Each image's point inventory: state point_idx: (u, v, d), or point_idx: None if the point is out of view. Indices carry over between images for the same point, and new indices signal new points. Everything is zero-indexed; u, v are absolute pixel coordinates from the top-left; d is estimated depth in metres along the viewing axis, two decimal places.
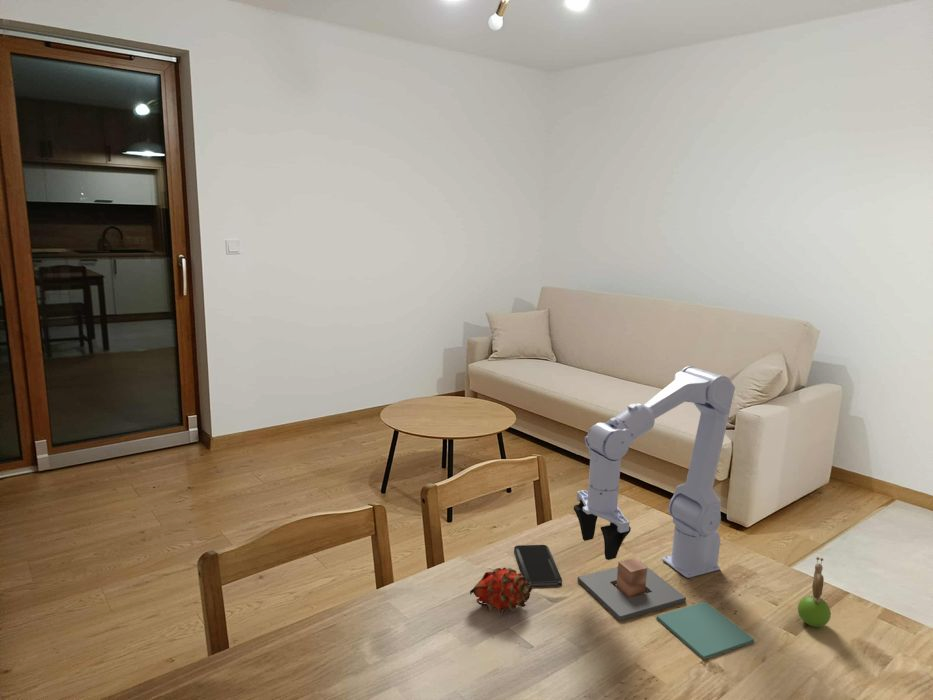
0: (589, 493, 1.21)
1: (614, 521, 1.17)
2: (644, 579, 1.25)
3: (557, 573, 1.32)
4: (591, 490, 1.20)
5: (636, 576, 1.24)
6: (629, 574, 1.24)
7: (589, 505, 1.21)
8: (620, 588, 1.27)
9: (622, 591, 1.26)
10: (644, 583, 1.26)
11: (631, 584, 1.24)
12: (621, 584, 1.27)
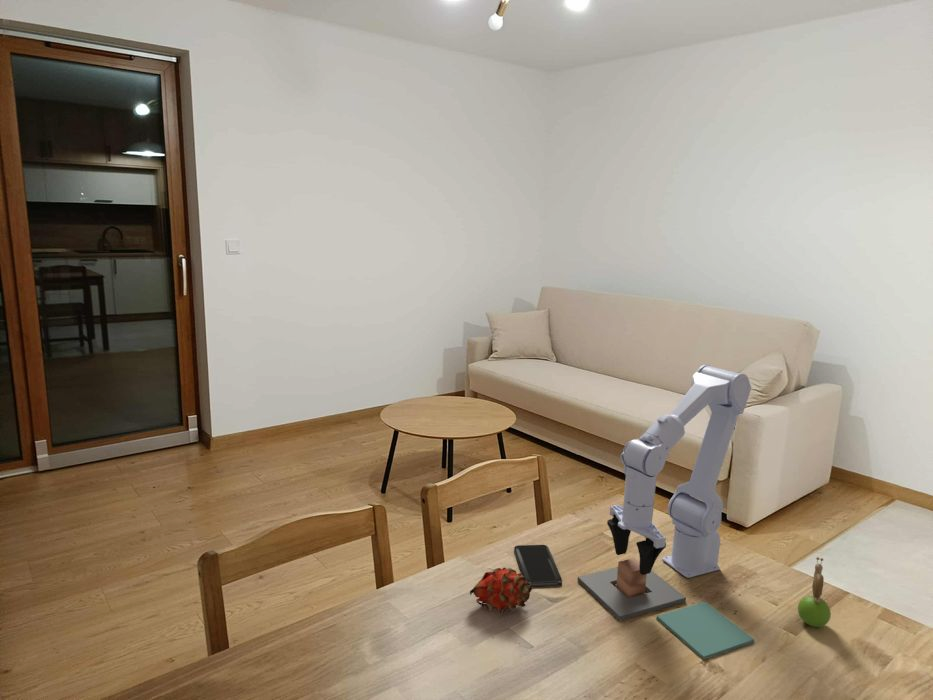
0: (624, 508, 1.23)
1: (650, 537, 1.18)
2: (644, 579, 1.25)
3: (557, 573, 1.32)
4: (627, 506, 1.22)
5: (636, 576, 1.24)
6: (629, 574, 1.24)
7: (624, 520, 1.23)
8: (620, 588, 1.27)
9: (622, 591, 1.26)
10: (644, 583, 1.26)
11: (631, 584, 1.24)
12: (621, 584, 1.27)
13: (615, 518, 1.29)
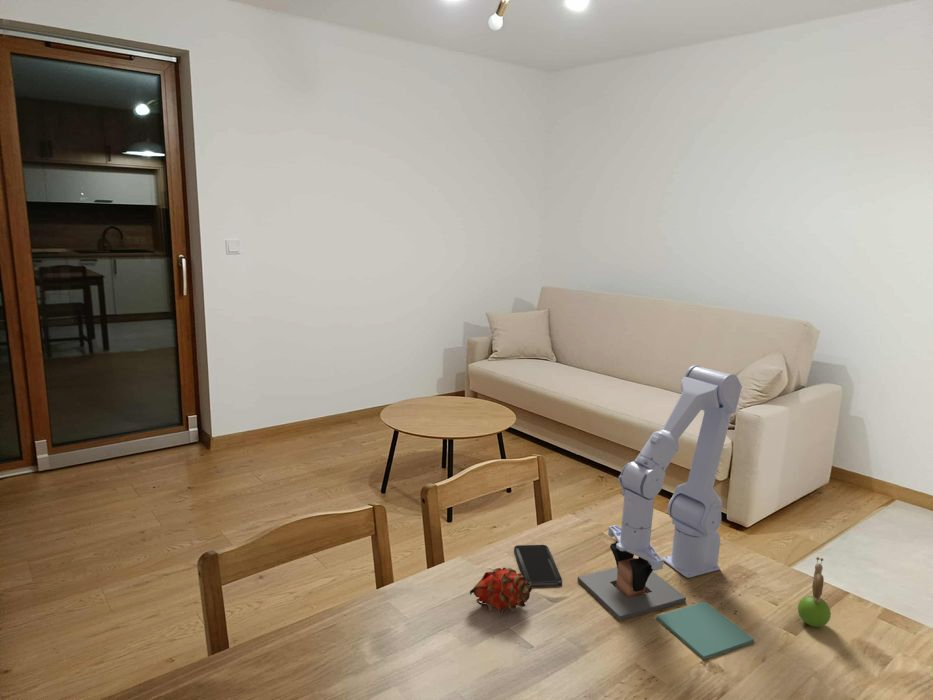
0: (623, 530, 1.24)
1: (648, 559, 1.19)
2: None
3: (557, 573, 1.32)
4: (625, 527, 1.23)
5: None
6: (629, 574, 1.24)
7: (622, 542, 1.24)
8: (620, 588, 1.27)
9: (622, 591, 1.26)
10: None
11: (631, 583, 1.24)
12: (621, 584, 1.26)
13: (618, 542, 1.28)
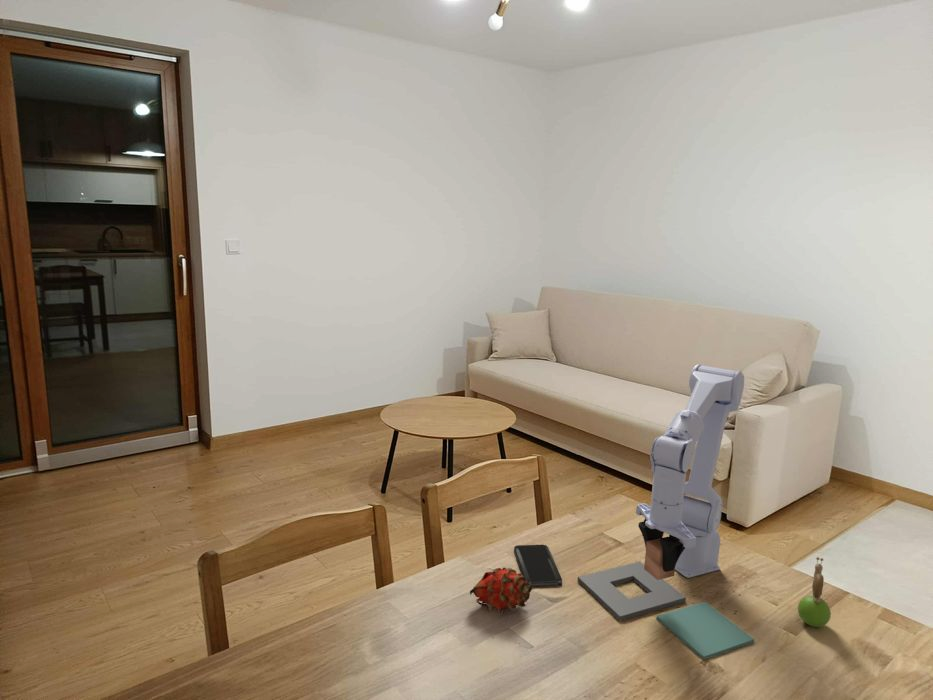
0: (652, 507, 1.18)
1: (680, 536, 1.14)
2: None
3: (557, 573, 1.32)
4: (655, 504, 1.17)
5: None
6: (659, 554, 1.18)
7: (652, 519, 1.18)
8: (648, 569, 1.21)
9: (650, 572, 1.21)
10: None
11: (660, 564, 1.18)
12: (649, 564, 1.21)
13: (647, 521, 1.23)
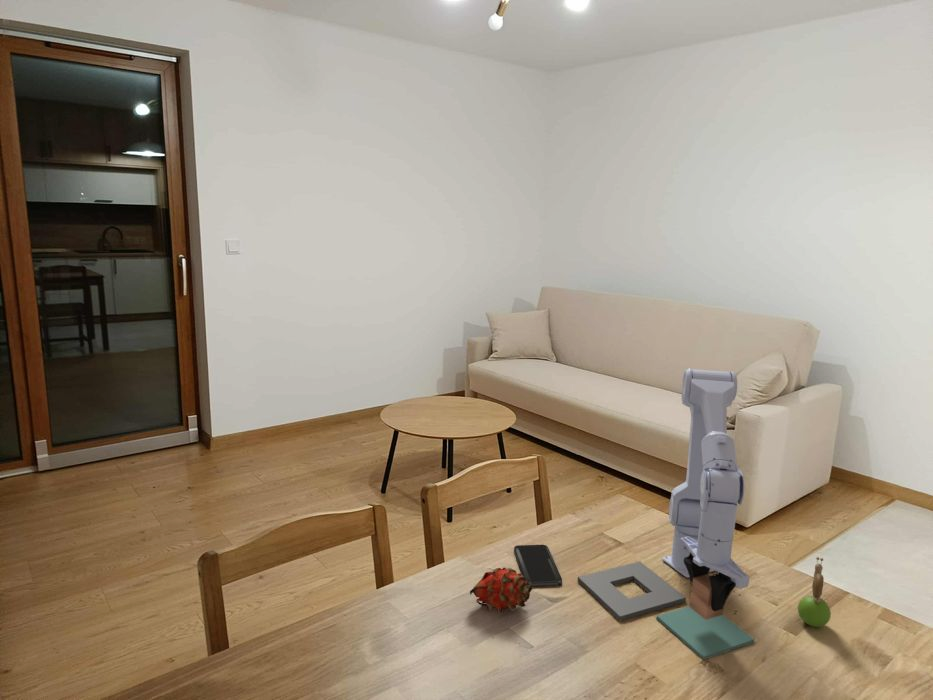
0: (700, 543, 1.11)
1: (732, 575, 1.07)
2: None
3: (557, 573, 1.32)
4: (703, 540, 1.11)
5: None
6: (707, 592, 1.11)
7: (700, 556, 1.12)
8: (695, 607, 1.15)
9: (697, 610, 1.14)
10: None
11: (709, 603, 1.12)
12: (696, 603, 1.14)
13: (692, 556, 1.16)
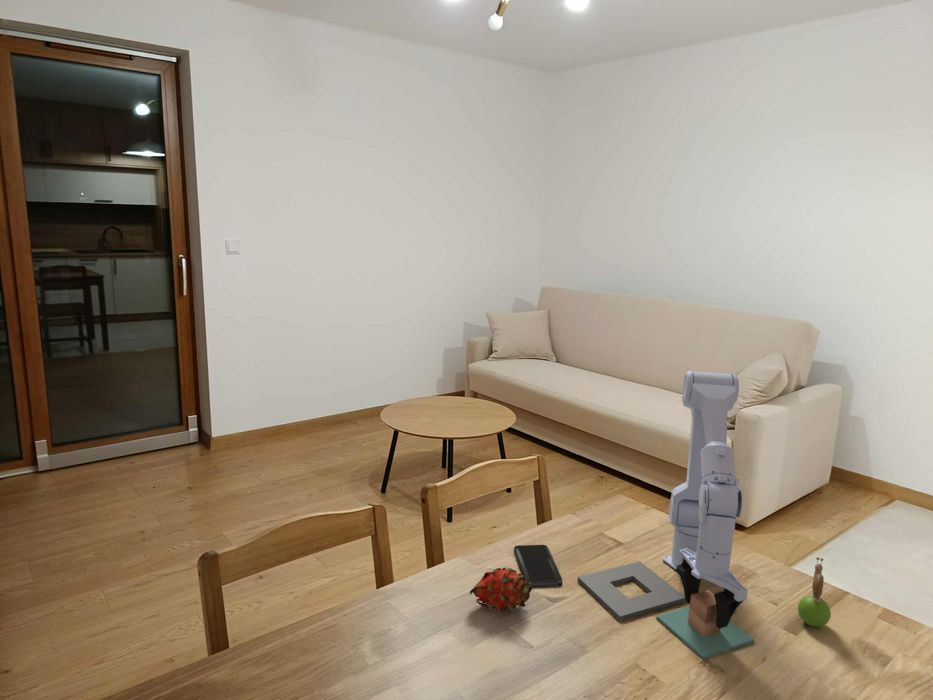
0: (699, 555, 1.12)
1: (730, 588, 1.08)
2: None
3: (557, 573, 1.32)
4: (702, 553, 1.11)
5: (712, 611, 1.13)
6: (705, 610, 1.12)
7: (699, 568, 1.12)
8: (693, 624, 1.15)
9: (695, 627, 1.15)
10: None
11: (707, 620, 1.13)
12: (694, 619, 1.15)
13: (685, 563, 1.18)
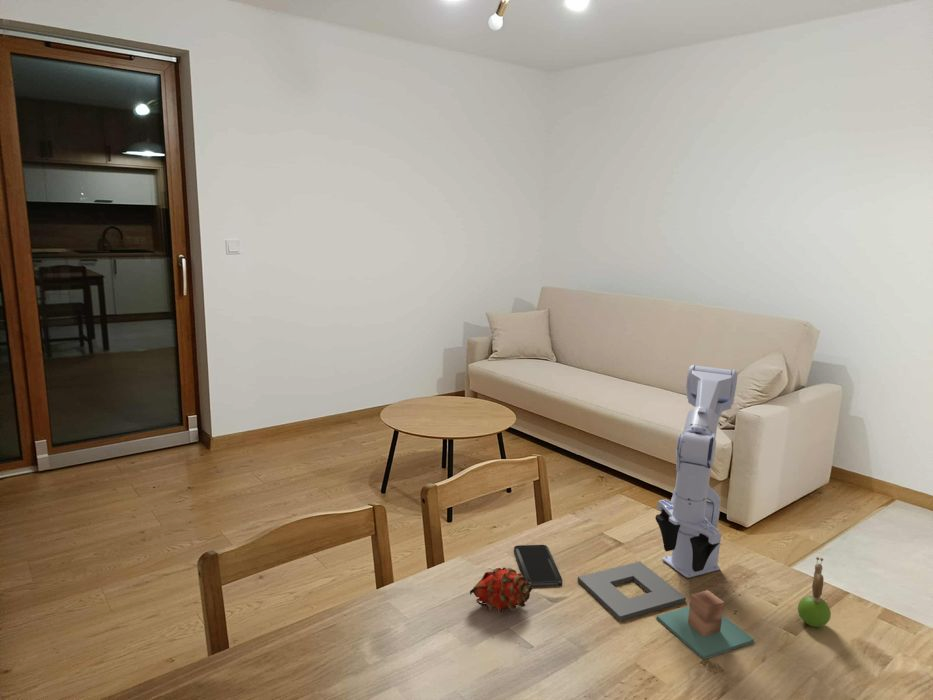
0: (676, 503, 1.18)
1: (705, 532, 1.14)
2: (720, 614, 1.14)
3: (557, 573, 1.32)
4: (679, 500, 1.17)
5: (712, 611, 1.13)
6: (705, 610, 1.12)
7: (676, 515, 1.18)
8: (693, 624, 1.15)
9: (695, 627, 1.15)
10: (720, 619, 1.14)
11: (707, 620, 1.13)
12: (694, 619, 1.15)
13: (663, 513, 1.24)
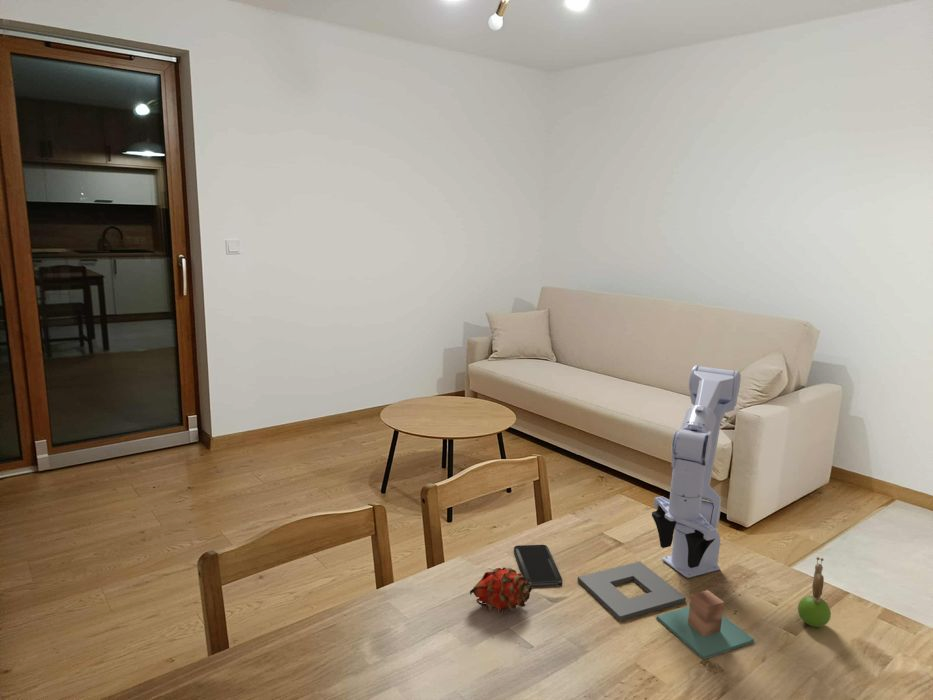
0: (672, 500, 1.19)
1: (700, 528, 1.15)
2: (720, 614, 1.14)
3: (557, 573, 1.32)
4: (674, 497, 1.18)
5: (712, 611, 1.13)
6: (705, 610, 1.12)
7: (671, 512, 1.19)
8: (693, 624, 1.15)
9: (695, 627, 1.15)
10: (720, 619, 1.14)
11: (707, 620, 1.13)
12: (694, 619, 1.15)
13: (660, 510, 1.25)
